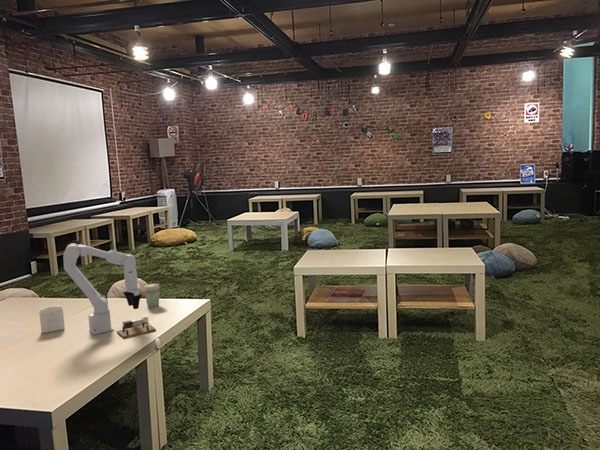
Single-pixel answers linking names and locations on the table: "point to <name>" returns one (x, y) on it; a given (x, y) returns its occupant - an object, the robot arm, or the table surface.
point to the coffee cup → (152, 295)
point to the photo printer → (51, 318)
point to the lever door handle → (135, 322)
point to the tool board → (136, 330)
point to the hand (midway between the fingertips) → (133, 307)
